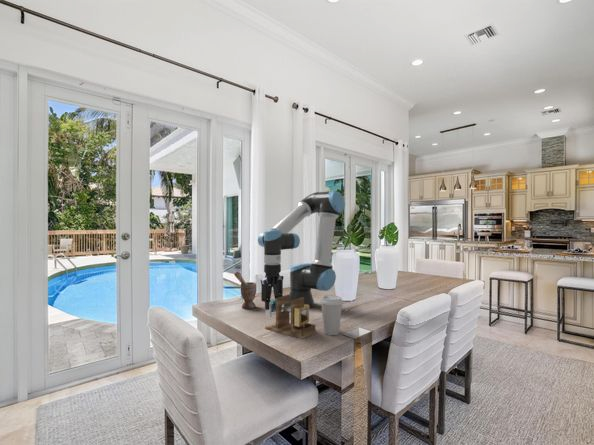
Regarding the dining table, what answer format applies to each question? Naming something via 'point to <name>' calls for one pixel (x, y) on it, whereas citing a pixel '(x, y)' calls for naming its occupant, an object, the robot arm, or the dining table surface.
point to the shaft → (285, 308)
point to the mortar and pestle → (247, 292)
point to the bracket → (283, 319)
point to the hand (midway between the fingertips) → (272, 315)
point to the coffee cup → (331, 313)
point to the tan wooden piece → (297, 315)
